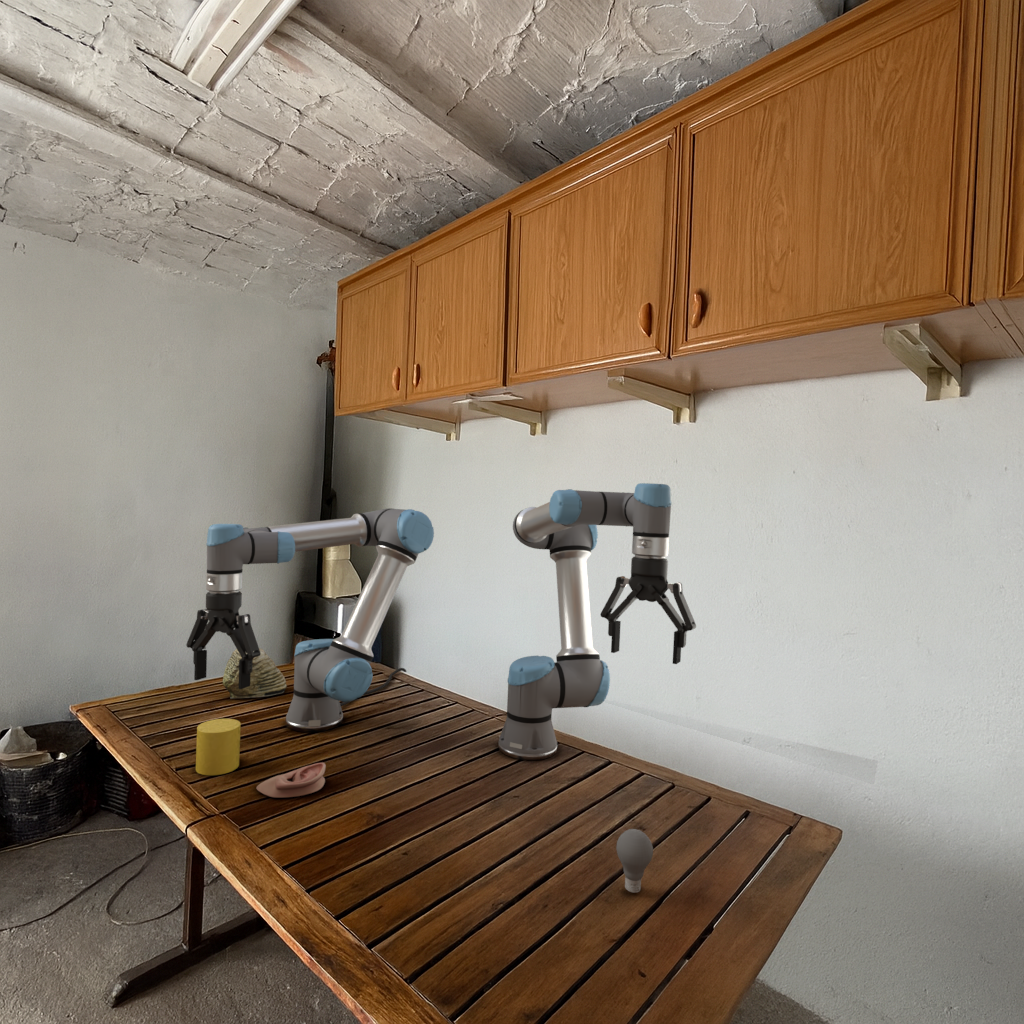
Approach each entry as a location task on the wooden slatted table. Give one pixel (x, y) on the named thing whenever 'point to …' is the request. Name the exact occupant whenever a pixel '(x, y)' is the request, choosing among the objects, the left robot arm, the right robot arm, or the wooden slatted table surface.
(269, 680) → the fossil
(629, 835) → the light bulb
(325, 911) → the wooden slatted table surface
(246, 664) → the left robot arm
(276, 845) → the wooden slatted table surface
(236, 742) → the yellow cylinder
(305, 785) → the anatomical model
